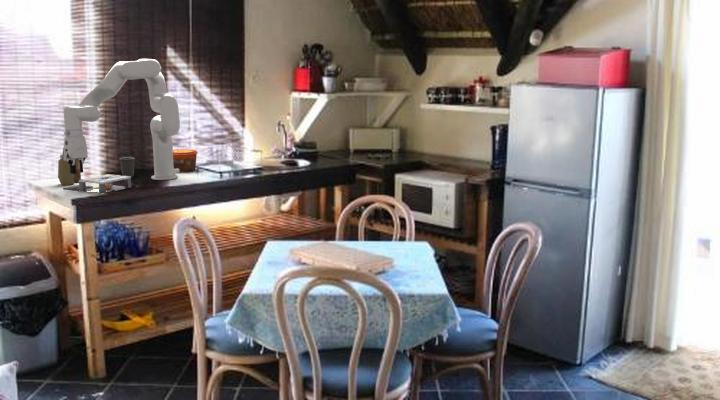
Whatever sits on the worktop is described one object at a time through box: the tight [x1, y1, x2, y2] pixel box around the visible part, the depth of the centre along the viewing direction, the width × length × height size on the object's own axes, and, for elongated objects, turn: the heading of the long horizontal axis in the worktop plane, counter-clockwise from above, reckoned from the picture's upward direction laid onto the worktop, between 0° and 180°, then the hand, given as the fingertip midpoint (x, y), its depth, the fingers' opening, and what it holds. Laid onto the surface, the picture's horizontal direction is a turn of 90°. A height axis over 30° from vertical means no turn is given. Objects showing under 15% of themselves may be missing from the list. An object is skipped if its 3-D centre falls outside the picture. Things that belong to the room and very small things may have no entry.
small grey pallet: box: [78, 173, 132, 194], centre depth 324 cm, size 18×14×5 cm
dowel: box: [73, 158, 82, 184], centre depth 324 cm, size 3×3×13 cm
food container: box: [173, 148, 198, 173], centre depth 379 cm, size 16×16×11 cm
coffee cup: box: [118, 156, 136, 178], centre depth 360 cm, size 8×8×10 cm
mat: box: [62, 184, 94, 192], centre depth 326 cm, size 9×9×1 cm
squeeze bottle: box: [57, 146, 75, 186], centre depth 335 cm, size 8×8×18 cm
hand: (76, 172), depth 324 cm, fingers closed on dowel, 3 cm apart
